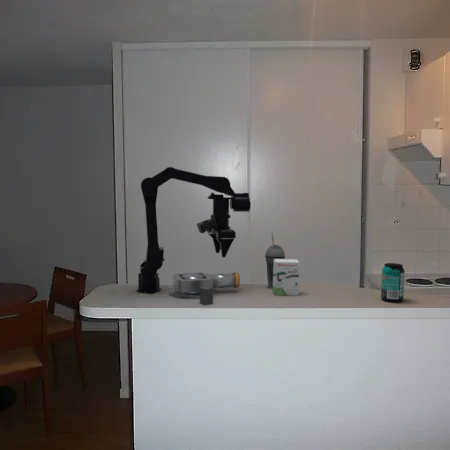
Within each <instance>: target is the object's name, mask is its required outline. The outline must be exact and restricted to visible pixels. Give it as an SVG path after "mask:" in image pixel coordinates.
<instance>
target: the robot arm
mask: <svg viewBox="0 0 450 450" xmlns="http://www.w3.org/2000/svg"><path fill="white" fill-rule="evenodd" d="M171 179H173V180H177V181H182V182H186V183H191V184H195V185H199V186H202V187H205V188H207V189H209V190H212V191H214V192H215V193H214V192H210V195H208V196H207V199H208V200H212V214H210V218H209V219H205V220H202V221H200V222H198V223H196V227H197V229H198V232H199V233H201V234H204V233H207V235H208V236H210V237H211V238H212V242H213V246H214V251H215V253H216V254H221V258H226V256H227V254H228V252H229V250H230V248H231V246H232V243H234V242H233V241H235V239H236V238H237V235H236V234H237V233H236V231H235V230H234V229H232V228H231V226H230V222H229V221H230V219H231V214H230V210H232V212H234V213H235V212H236V213H238V212H240V213H243V212H247V213H248V212H250V210H251V208H252V207H251V206H252V205H251V204H252V203H251V199H250V198H251V197H250V193H249V192H241V193H240V192H239V193H238V192H237V193H236V192H235V190H234V189H233V188H232V187H231V181H230V179H229V178H228V177H225V176H219V175H218V176H217V175H215V176H214V175H204V174H199V173H197V172H196V173H195V172H191V171H187V170H183V169H179V168H175V167H173V166H167V167H165V168H164V169H163V170H162V171H160V172H159V173H157V174H155V175H153V176H152V177H150V176H149V177H145V178H143V179H142V180H141V181H140V189H141V192H142V193H141V194H142V198H143V201H144V207H145V222H146V237H147V238H146V240H147V242H146V243H147V245H146V251H145V252H146V253H145V260H143V262H142V263H141V264H140V265H139V270H140V271H139V273H137V274H138V275H137V276H138V280H137V281H138V289H135V291H136V292H139V293H149V294H154V293H155V292H158V291H160V290H161V287H160V284H161V283H160V277H159V272H158V270H161V268H162V267H163V263H164V262H165V257H164V252H165V248H164V247H163V246H161V247H160V246H159V234H158V222H157V221H158V220H157V205H156V204H157V199H158V190H159V187H161V186H162V185H164V184H165V183H167V182H168V181H170V180H171ZM216 193H219V194H216ZM224 195H225V197H224ZM227 196H228V197H227ZM220 252H221V253H220Z"/></svg>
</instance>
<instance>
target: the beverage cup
mask: <svg viewBox="0 0 450 450" xmlns="http://www.w3.org/2000/svg"><path fill="white" fill-rule="evenodd" d="M271 240H272V245H270V246H269V247H268V248H267V249H266V251H265V255H264V257H265V262H266V276H267V286H268V288H269V289H273V261H274V259H286V256H285V251H284V249H283V247H282V246H281V245H278V244H275V239H274V233H273V232H271Z"/></svg>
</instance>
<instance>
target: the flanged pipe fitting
mask: <svg viewBox="0 0 450 450" xmlns="http://www.w3.org/2000/svg"><path fill="white" fill-rule="evenodd" d="M186 274H200V275H203V279H184V280H183V279H182V275H186ZM240 279H241V278H240V274H239V271H237V272H236V271H235V272H227V273H224V272H223V273H222V272H221V273H208V272H204V271H203V272H202V271H201V272H183V273H182V272H181V273H180V272H179V273H174V274H172V287H173V288H174V290H176V291H177V292H181V293H188V292H200V288H201V287H206V286H208V287H211V288H215V289H227V288H234V289H235V288H240V284H241V280H240Z"/></svg>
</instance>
